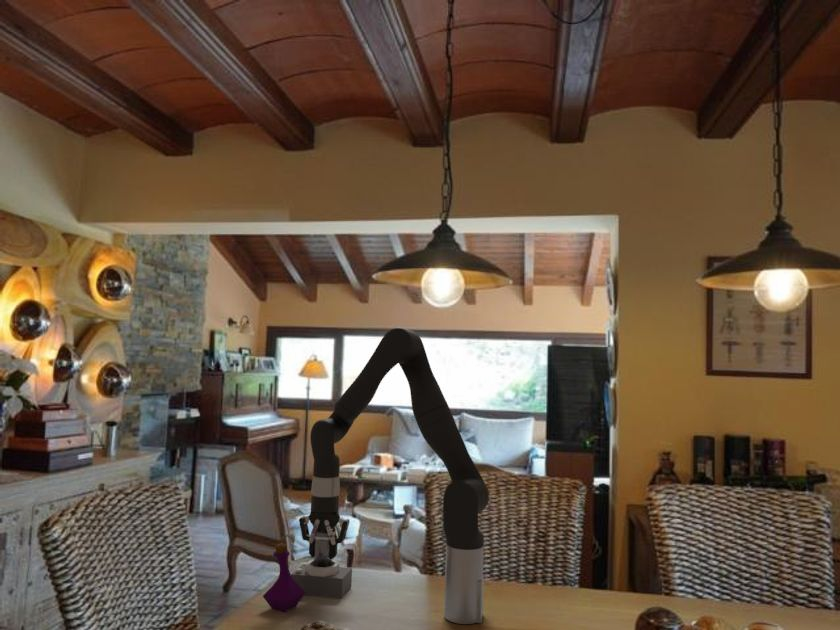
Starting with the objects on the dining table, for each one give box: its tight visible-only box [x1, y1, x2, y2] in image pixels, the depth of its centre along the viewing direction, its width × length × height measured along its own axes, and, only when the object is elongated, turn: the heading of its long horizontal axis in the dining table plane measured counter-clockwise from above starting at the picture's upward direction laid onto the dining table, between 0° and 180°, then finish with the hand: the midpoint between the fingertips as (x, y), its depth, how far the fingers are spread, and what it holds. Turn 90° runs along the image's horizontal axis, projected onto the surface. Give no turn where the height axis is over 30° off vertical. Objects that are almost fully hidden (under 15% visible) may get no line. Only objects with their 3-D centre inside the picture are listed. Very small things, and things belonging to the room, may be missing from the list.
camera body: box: [290, 558, 353, 599], centre depth 170 cm, size 14×9×7 cm, turn 80°
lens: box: [313, 531, 332, 568], centre depth 171 cm, size 5×5×9 cm
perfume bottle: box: [262, 533, 306, 613], centre depth 158 cm, size 8×8×18 cm
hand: (322, 557), depth 171 cm, fingers closed on lens, 4 cm apart
